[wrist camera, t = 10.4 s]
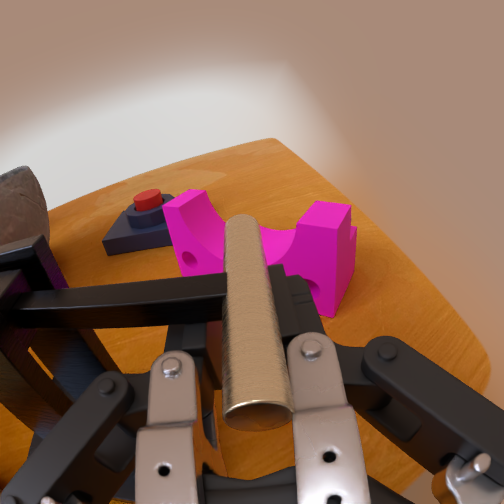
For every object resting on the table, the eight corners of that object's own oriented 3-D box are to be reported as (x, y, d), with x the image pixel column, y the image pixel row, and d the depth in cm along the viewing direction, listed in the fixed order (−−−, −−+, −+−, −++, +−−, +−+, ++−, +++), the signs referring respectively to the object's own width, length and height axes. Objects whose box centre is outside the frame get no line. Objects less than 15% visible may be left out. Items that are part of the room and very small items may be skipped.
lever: (261, 252, 13) (256, 200, 11) (294, 435, 6) (296, 384, 5) (33, 279, 13) (15, 240, 11) (-37, 398, 6) (-73, 356, 4)
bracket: (205, 380, 18) (137, 193, 11) (204, 510, 10) (25, 383, 4) (63, 380, 18) (-27, 241, 11) (35, 477, 11) (-110, 344, 4)
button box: (203, 210, 42) (197, 183, 40) (197, 241, 34) (190, 209, 32) (127, 223, 42) (119, 199, 40) (107, 255, 34) (96, 228, 32)
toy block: (353, 270, 26) (358, 192, 22) (333, 317, 21) (337, 229, 17) (218, 244, 33) (205, 180, 29) (182, 275, 29) (161, 205, 25)
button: (165, 199, 38) (162, 186, 37) (160, 210, 35) (156, 196, 34) (141, 204, 38) (137, 192, 37) (133, 215, 35) (129, 202, 34)
